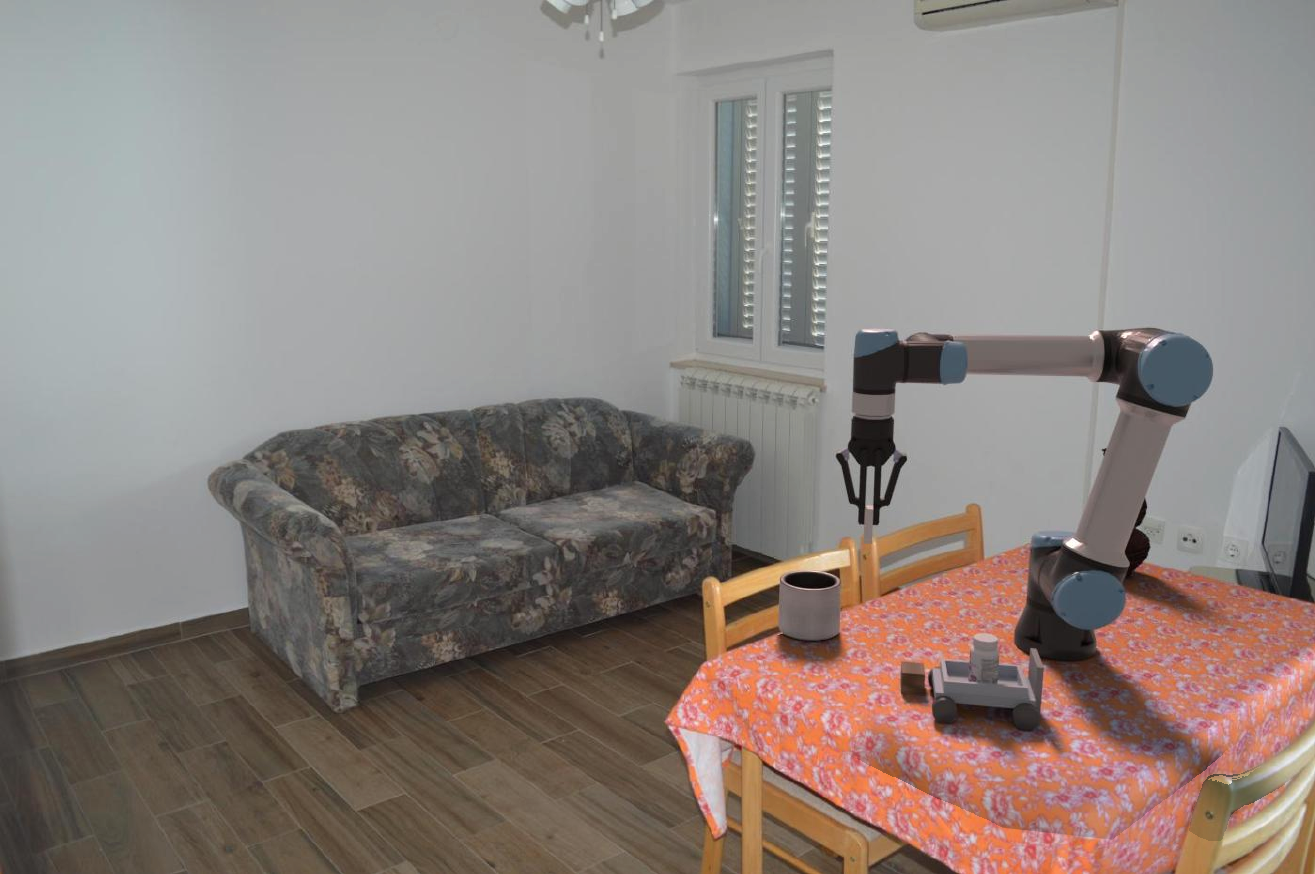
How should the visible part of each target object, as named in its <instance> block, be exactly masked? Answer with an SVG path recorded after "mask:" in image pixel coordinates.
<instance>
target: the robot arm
mask: <svg viewBox="0 0 1315 874" xmlns="http://www.w3.org/2000/svg"><path fill="white" fill-rule="evenodd" d="M854 336H855V338H854V348H853V349H854V350H853V361H852V362H853V365H852V366H853V367H852V368H853V370H852V372H853V373H852V377H853V378H852V393H851V394H852V397H851V413H852V414H854V415H852V417H851V424H850V426H851V427H850V440H849V441H848V443H847V447H845V448H842V450H837V451H836V452H835V453H836V454H835V459H836V460H837V461H838V463H839V465H840V466H841V471H842V476H843V481H844V485H845V490H846V495H847V499H848V504H849V505H854V506H855V507H857V508H858V511H857V513H858V516H857V523H858V525H863V544H866V545H872V544H873V527H874V526H879V524H880V516H881V515H880V514H881V511H880V510H881V509H882V508H883V507H889V506H890V504H891V501H892V499H893V496H894V492H895V490H896V489H895V488H896V485H897V483H898V479H899V476H900V472H901V469H902V468H903V466H904V465H905V464H906V463H907V461H908V455H907V454H906V453H905V452H901V451H900V450H899V449H897V448H896V447H897V446H896V443H895V441H894V434H895V433H894V432H895V431H894V429H895V419H894V417H893V415H894V414H895V411H896V410H895V409H896V406H895V405H896V384H932V385H933V384H935V385H937V384H939V385H944V386H946V385H951V384H961V383H963V382H964V381H965V379H966V377H967V375H981V376H982V375H984V376H985V375H989V376H991V375H992V376H1032V377H1033V376H1034V377H1035V376H1038V377H1039V376H1041V377H1044V376H1045V377H1081V378H1082V377H1084V378H1085V377H1086V378H1087V379H1088V381H1090V382H1091V383H1107V384H1114V385H1118V386H1119V387H1118V389H1117V393H1116V395H1115V401H1116V402H1117V405H1118V407H1119V409H1120V412H1119V414H1118V416H1117V420H1116V423H1115V425H1114V427H1113V431H1112V433H1111V436H1110V439H1109V441H1108V445H1107V447H1106V448H1107V449H1106V452H1105V455H1103V457H1102V461H1101V464H1100V467H1099V468H1098V471H1097V474H1096V477H1095V480H1094V483H1093V485H1092V488H1091V491H1090V493H1089V496H1088V499H1087V502H1086V504H1085V507H1084V509H1083V512H1082V515H1081V518H1080V520H1079V523H1078V526H1077V529H1076V532H1075V531H1066V530H1065V531H1064V530H1045V531H1043V530H1042V531H1038V532H1035V533H1034V534H1033V535H1032V536H1031V537H1030V543H1029V544H1030V545H1029V546H1028V550H1029V557H1028V570H1027V586H1026V600H1025V601H1026V602H1025V606H1024V607H1023V610H1022V612H1021V614H1020V616H1019V619H1018V621H1017V623H1016V626H1015V629H1014V633H1013V634H1014V635H1013V642H1014V644H1015V645H1016V646H1017V647H1018V648H1019V649H1020V650H1022V651H1024V652H1026V653H1029V654H1030V648H1034V649H1037V652H1038V654H1039V657H1040V658H1044V659H1049V660H1055V661H1071V662H1073V661H1082V660H1086V659H1090V658H1091V657H1093V656H1094V655H1096V652H1097V637H1096V633H1095V630H1098V629H1102V628H1105V627H1107V626H1109V625H1111V624H1113V623H1114V622H1116V621H1117V619H1119V618H1120V616H1121V615H1122V613H1123V611H1124V610H1125V608H1126V603H1127V595H1126V590H1125V586H1124V585H1123V583H1124V580H1125V578H1126V577H1125V576H1126V573H1127V570H1128V568H1129V564H1130V563H1129V561H1128V559H1127V557H1126V555H1125V549H1126V546H1127V543H1128V541H1129V538H1130V535H1131V533H1132V530H1133V527H1134V525H1135V522H1136V520H1137V517H1138V514H1139V512H1140V509H1141V506H1142V504H1143V501H1144V498H1145V499H1146V496H1147V492H1148V490H1149V488H1150V485H1151V483H1152V479H1153V478H1154V475H1155V472H1156V470H1157V467H1158V464H1159V461H1160V459H1161V456H1162V454H1163V451H1164V448H1165V446H1166V442H1167V440H1168V437H1169V435H1170V433H1171V430H1172V427H1173V426H1174V425H1175V424H1177V423H1180V422H1181V421H1182V422H1183V421H1184V420H1186V417H1187V415H1188V413H1189V410H1190V407H1191V405H1192V403H1193V402H1195V401H1197V400H1199V399H1201V397H1202V396H1204V395H1205V394H1206V392H1207V391H1208V389H1209V388H1210V386H1211V383H1212V381H1213V377H1214V364H1213V360H1212V357H1211V355H1210V354H1209V352H1208V350H1207V348H1205V346H1204V345H1202V344H1201V343H1200V342H1199V341H1198V340H1195V339H1194V338H1191V336H1189V335H1185V334H1183V333H1182V332H1181V333H1179V332H1174V331H1169V330H1168V331H1167V330H1164V329H1161V328H1156V327H1137V328H1135V327H1134V328H1127V329H1113V330H1111V329H1110V330H1099V329H1098V330H1093V331H1092V332H1091V333H1089V334H1088V335H1047V334H1045V335H1043V334H1041V335H1038V334H1036V335H1035V334H1034V335H1033V334H1027V335H1025V334H957V333H956V334H955V333H954V334H942V333H940V334H939V333H937V334H935V333H933V334H931V333H928V332H927V331H926V332H924V331H923V332H920V331H919V332H914V333H911V334H910V335H908V336H907V337H905V338H904V340H901V339H900V337H899V333H898V331H897V330H896V329H891V328H863V329H860V330H858V332H857V333H856V334H855V335H854ZM850 454H851V456H852V457H853V459H854V460H855V461H856V463H857V464H858V465H859V489H858V490H859V491H858V496H856V492H855V487H854V484H853V478H852V474H851V469H850V465H849V460H850ZM892 456H893V458H892V461H893V466H892V470H891V473H890V477H889V480H888V483H887V486H886V489H885V493H884V497H881V493H882V492H881V491H882V490H881V489H882V488H881V487H882V467H883V466H884V465H885V464H886V463H887V462H888V460H890V458H891V457H892ZM868 467H874V473H873V501H872V505H867V504H866V503H867V502H866V500H867V475H868V474H867V473H868Z"/></svg>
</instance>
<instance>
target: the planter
mask: <svg viewBox="0 0 1315 874" xmlns="http://www.w3.org/2000/svg"><path fill="white" fill-rule="evenodd" d="M778 593H779V596H778V597H779V598H778V619H777V620H778V622H777V625H778V629H779V631H780V632H781V633H782V634H783V635H785V636H787V637H789V638H791V639H794V640H798V641H801V642H802V641H803V642H804V641H805V642H819V641H820V642H822V641H821V640H823V641H827V640H830V639H832V638H834V637H836V636H837V635H838V634H839V633H840V629H841V600H842V599H841V597H842V595H841V594H842V580H841V579H840V577H838V576H837V575H834V574H832V573H829V572H826V571H823V570H822V571H821V570H814V569H813V570H811V569H810V570H808V569H801V570H791V571H788V572H786V573H784V574H782V575H781V576H780V578H779V592H778ZM826 639H827V640H826Z"/></svg>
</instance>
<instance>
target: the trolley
mask: <svg viewBox="0 0 1315 874" xmlns="http://www.w3.org/2000/svg"><path fill="white" fill-rule="evenodd" d="M1028 659H1029V661H1028V673H1027V674H1028V675H1025V674H1024V672H1023V669H1022V666H1021V665H1020V664H1013V663H1012V664H1011V663H1002V662H1001V663H1000V662H999V668H998V683H997V684H992V683H980V682H969V680H968V679H969V663H970V660H961V659H950V658H940V660H939V666H936V667H932V668H931V669H930V670H929V671H928V674H927V679H928V685H929V688H931V689H932V691H933V695H934V696H933V697H934V699H933V701H932V704H931V711H932V713H931V714H932V717H933V718H934V719H935V721H936V722H938V723H940V724H944V725H946V724H950V723H952V722H954V721H955V720H956V718H957V717H958V708H957V704H960V705H961V704H963V705H972V706H973V705H974V706H983V707H984V706H985V707H996V708H1009V709H1012V719H1013V723H1014V724H1015V726H1016V727H1017V728H1018V729H1019V730H1021V731H1024V732H1031V731H1034V730H1036V729H1037V728H1038V727H1039V726H1040V722H1041V710H1042V709H1041V707H1042V706H1041V705H1042V696H1043V683H1044V670H1045V669H1044V668H1045V667H1044V665H1043V662H1042V659H1041V657H1039V654H1038V652H1037V649H1034V648H1030V653H1029V658H1028Z"/></svg>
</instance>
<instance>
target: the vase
mask: <svg viewBox="0 0 1315 874" xmlns="http://www.w3.org/2000/svg"><path fill="white" fill-rule="evenodd" d="M1106 449H1107V447H1106V448H1101V451H1102V452H1103V453H1102V455H1103V456H1104V455H1105V452H1106ZM1147 509H1148V502H1147V498H1146V497H1145V498H1144V501H1143V504H1142V506H1141V509H1140V512H1139V514H1138V517H1137V520H1136V522H1135V525H1134V527H1133V530H1132V533H1131V535H1130V538H1129V541H1128V543H1127V546H1126V549H1125V555H1126V557H1127V559H1128V561H1129V563H1130V564H1129V568H1128V570H1127V573H1126V576H1125V578H1129V577H1130V576H1131V575H1132V573H1133V572H1134V571H1136V569H1138V568H1139V567H1140V566H1141V565H1142V564H1143V563H1144V561H1146V559H1148V556H1149V552H1150V550H1151V547H1152V546H1151V544H1150V543H1151V542H1150V538H1149V537H1148V536H1147V534H1146V533H1144V532H1143V531H1142V530H1140V529H1138V528H1139V526H1141V525H1142V524H1143V521H1144V518H1145V517H1146V515H1147Z"/></svg>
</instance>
